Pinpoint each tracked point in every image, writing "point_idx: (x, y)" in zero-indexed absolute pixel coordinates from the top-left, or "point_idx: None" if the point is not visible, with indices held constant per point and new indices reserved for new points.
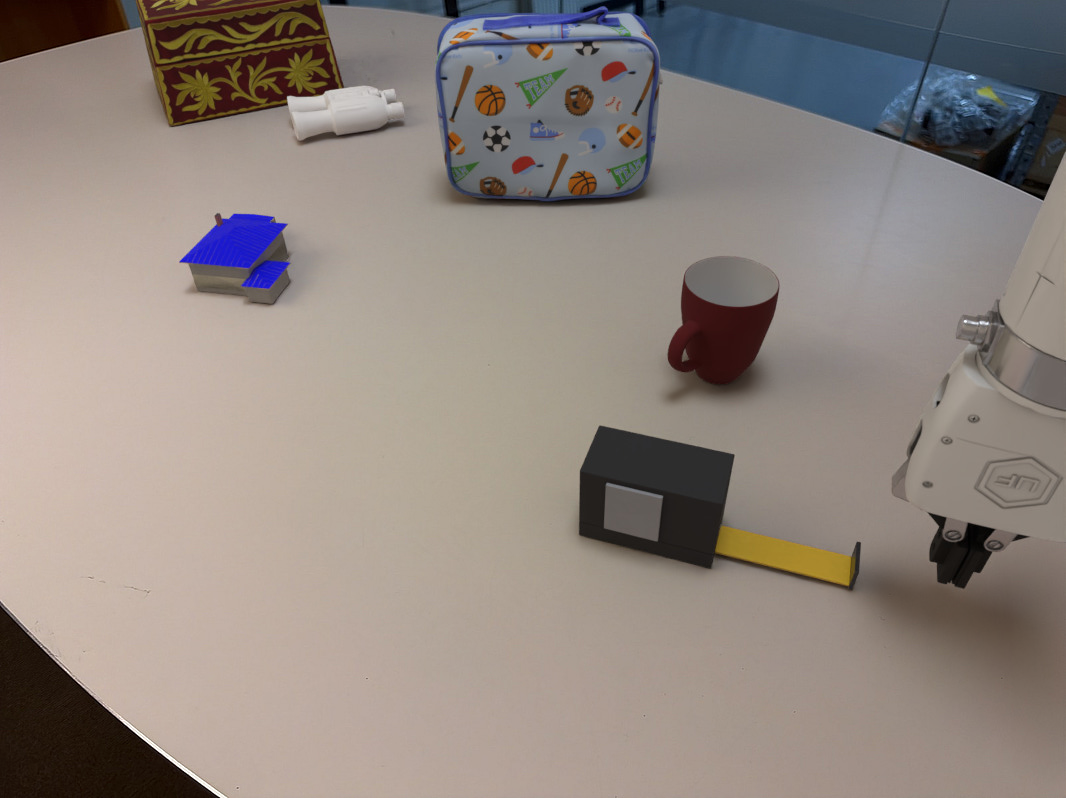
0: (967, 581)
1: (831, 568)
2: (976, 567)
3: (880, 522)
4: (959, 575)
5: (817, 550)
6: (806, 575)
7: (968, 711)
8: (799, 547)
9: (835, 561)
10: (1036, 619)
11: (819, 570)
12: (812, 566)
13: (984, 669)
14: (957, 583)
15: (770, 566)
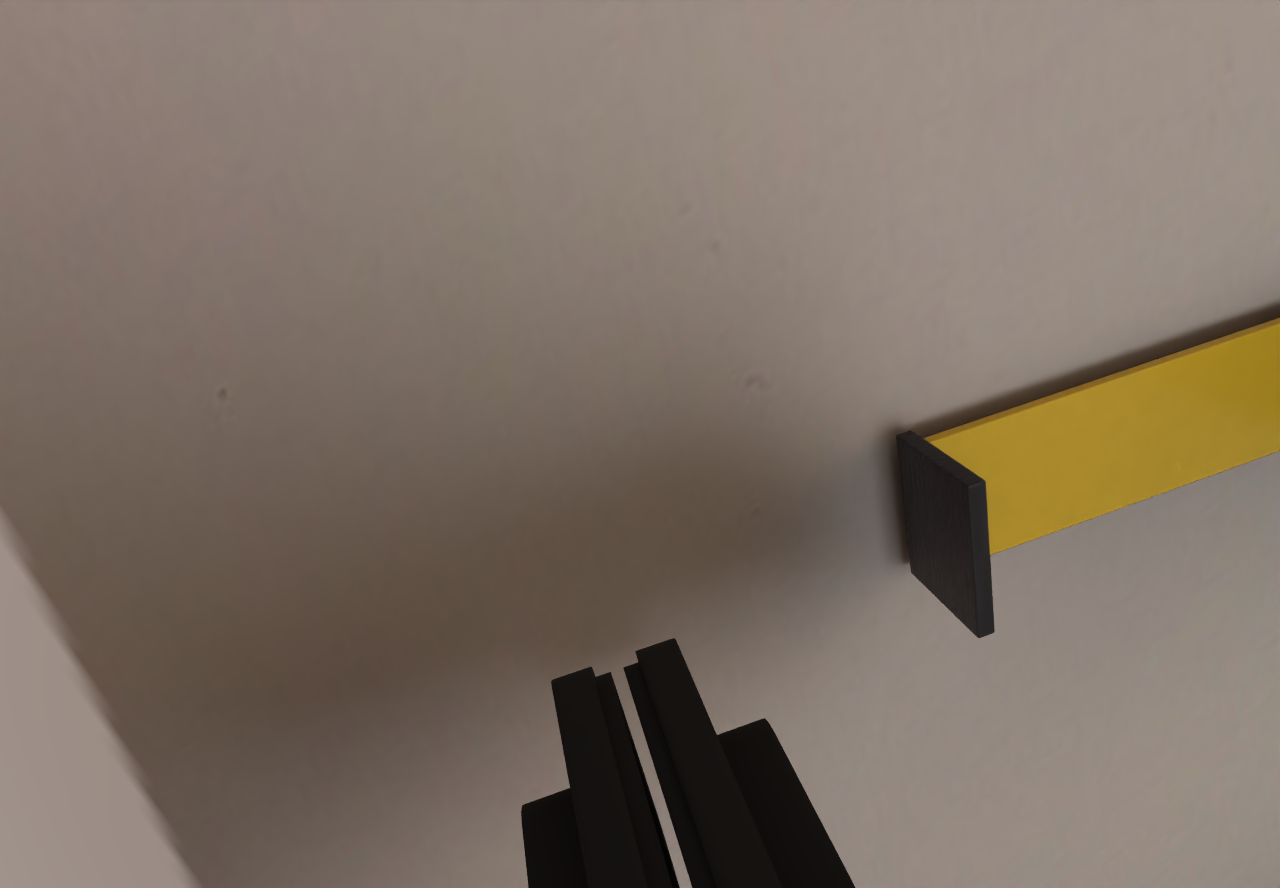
0: (563, 724)
1: (997, 476)
2: (557, 831)
3: (847, 771)
4: (616, 731)
5: (1056, 521)
6: (1079, 386)
7: (278, 111)
8: (1121, 492)
9: (989, 515)
10: (217, 748)
11: (1039, 438)
12: (1068, 438)
13: (304, 392)
14: (595, 686)
15: (1208, 342)
